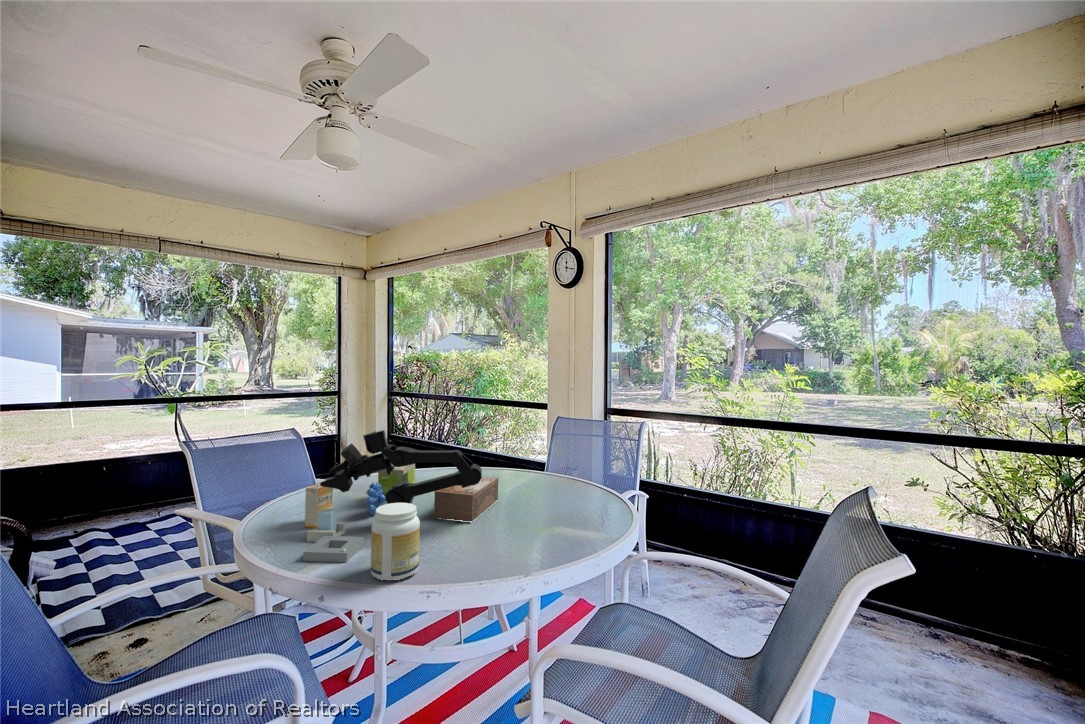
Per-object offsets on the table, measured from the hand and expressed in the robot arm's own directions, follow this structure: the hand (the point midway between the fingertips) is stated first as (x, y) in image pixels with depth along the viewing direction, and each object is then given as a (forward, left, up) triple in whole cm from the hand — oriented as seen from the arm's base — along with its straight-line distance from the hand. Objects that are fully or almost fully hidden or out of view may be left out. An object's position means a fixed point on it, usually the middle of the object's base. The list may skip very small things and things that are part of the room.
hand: (324, 477), depth 156 cm
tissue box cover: (-44, -21, -17) cm, 52 cm away
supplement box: (+3, -2, -16) cm, 17 cm away
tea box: (-15, -28, -16) cm, 36 cm away
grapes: (-13, -12, -16) cm, 24 cm away
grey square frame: (-5, +9, -16) cm, 19 cm away
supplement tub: (-34, +32, -16) cm, 49 cm away
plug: (-5, +9, -16) cm, 19 cm away
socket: (-13, +21, -16) cm, 29 cm away
